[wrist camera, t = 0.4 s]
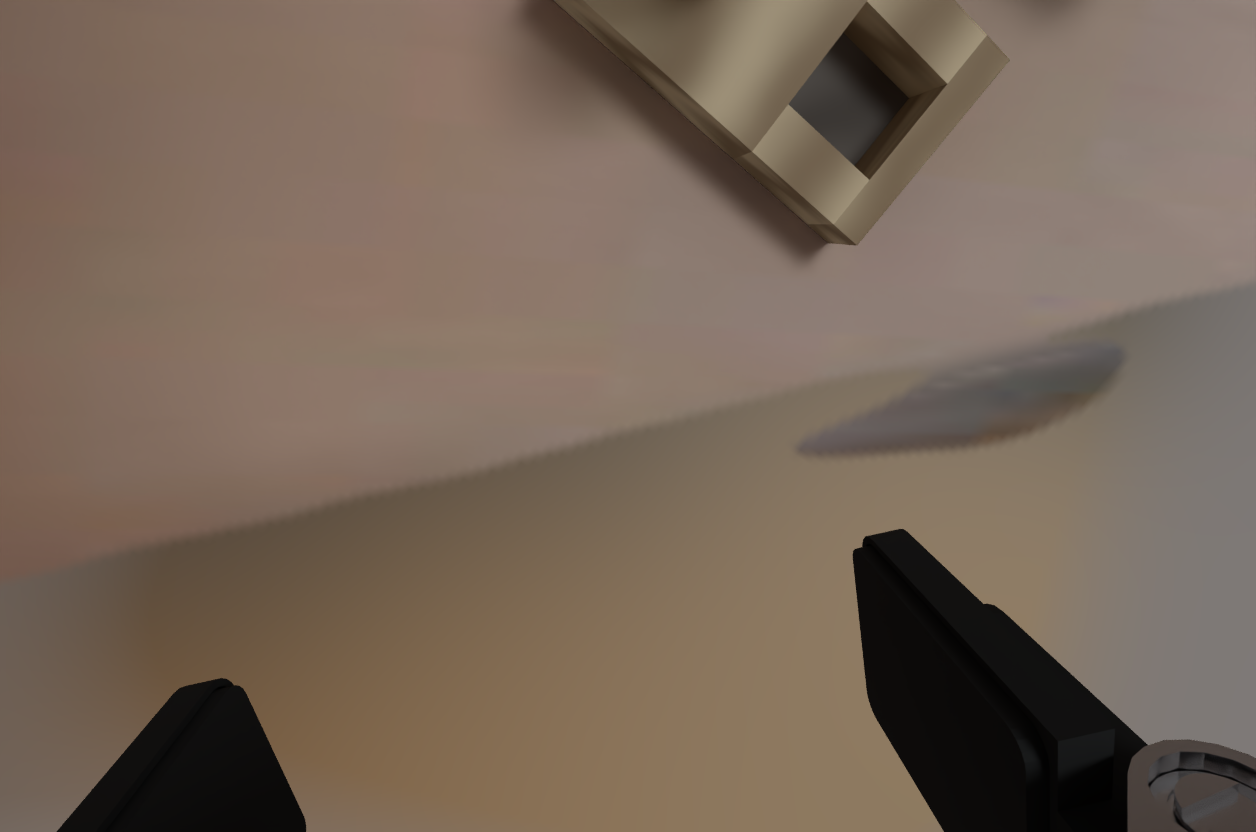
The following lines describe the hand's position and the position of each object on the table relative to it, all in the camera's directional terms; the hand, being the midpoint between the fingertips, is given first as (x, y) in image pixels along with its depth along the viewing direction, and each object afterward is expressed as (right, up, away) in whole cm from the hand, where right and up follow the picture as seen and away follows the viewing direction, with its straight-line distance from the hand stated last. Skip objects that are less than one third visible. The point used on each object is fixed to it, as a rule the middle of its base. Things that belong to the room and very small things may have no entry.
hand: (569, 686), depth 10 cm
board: (+8, +24, +24) cm, 35 cm away
